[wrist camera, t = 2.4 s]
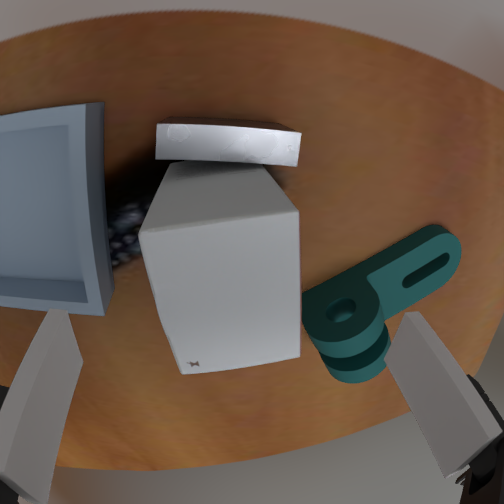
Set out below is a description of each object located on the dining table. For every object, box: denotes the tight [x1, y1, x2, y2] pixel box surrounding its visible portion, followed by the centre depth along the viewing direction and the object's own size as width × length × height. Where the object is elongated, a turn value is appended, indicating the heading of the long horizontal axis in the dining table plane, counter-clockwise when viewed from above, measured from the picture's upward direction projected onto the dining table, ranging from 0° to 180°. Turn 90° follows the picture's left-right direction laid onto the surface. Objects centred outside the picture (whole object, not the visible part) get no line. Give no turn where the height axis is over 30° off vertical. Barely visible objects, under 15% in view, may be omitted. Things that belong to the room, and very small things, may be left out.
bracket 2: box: [302, 225, 461, 383], centre depth 27 cm, size 18×7×8 cm, turn 116°
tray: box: [0, 102, 115, 316], centre depth 20 cm, size 16×16×4 cm
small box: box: [138, 160, 302, 374], centre depth 19 cm, size 8×6×13 cm
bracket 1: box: [156, 117, 301, 167], centre depth 22 cm, size 8×14×6 cm, turn 174°
